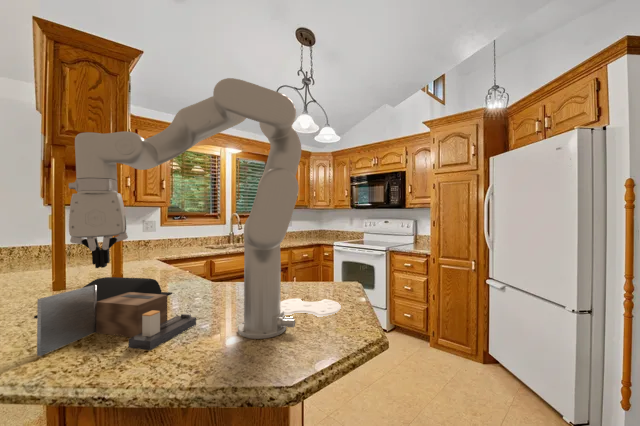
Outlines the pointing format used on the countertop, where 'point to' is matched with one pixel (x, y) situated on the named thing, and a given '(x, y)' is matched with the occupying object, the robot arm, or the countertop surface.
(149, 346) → the fader strip
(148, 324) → the fader knob
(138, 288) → the black piece
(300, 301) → the white bone shape
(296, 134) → the robot arm
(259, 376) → the countertop surface
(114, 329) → the wooden block
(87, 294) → the door
